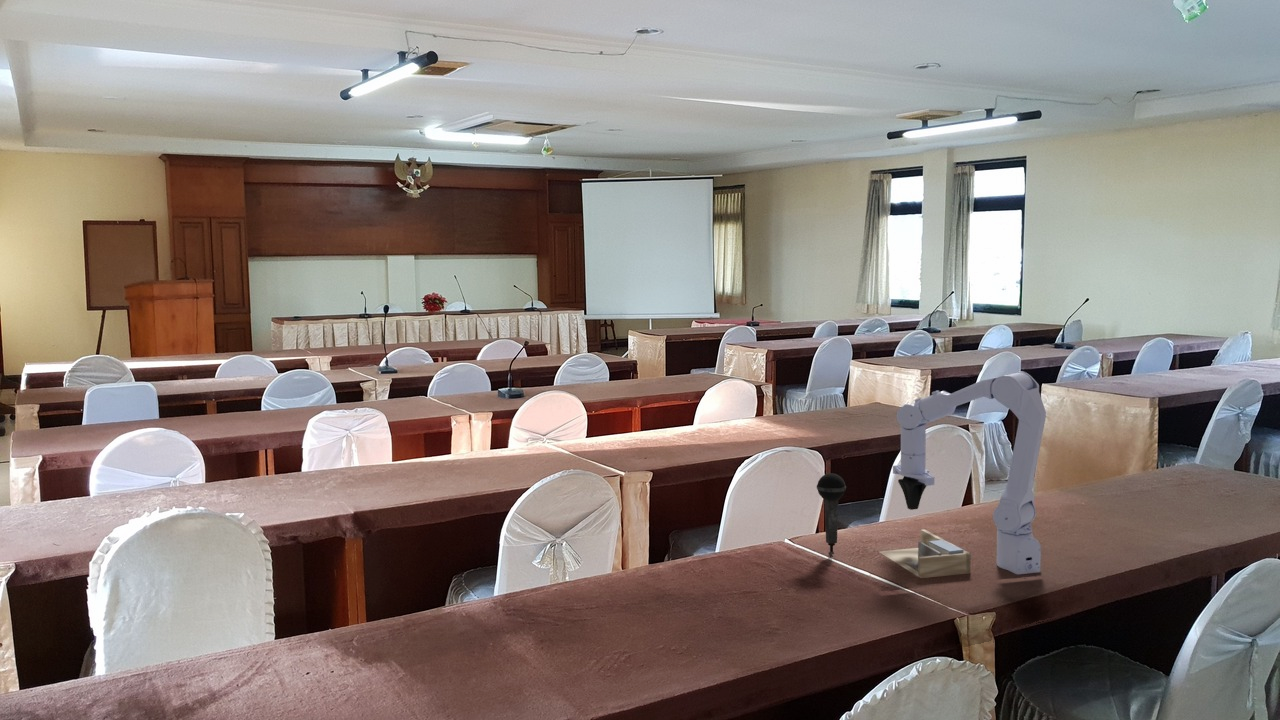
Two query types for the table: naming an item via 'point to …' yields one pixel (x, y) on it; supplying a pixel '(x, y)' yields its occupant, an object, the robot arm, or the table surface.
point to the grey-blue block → (944, 547)
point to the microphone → (831, 504)
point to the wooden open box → (930, 559)
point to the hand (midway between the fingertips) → (912, 508)
